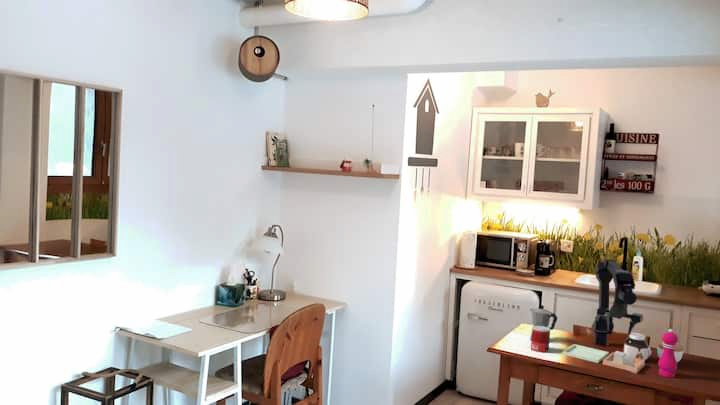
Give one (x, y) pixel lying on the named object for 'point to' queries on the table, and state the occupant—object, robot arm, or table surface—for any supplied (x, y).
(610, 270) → the robot arm
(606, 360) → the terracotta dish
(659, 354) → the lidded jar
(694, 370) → the table surface
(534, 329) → the canned food
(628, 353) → the spread jar
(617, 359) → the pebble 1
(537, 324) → the coffeepot
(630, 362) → the grey cube
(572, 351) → the green tray
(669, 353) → the pepper mill
